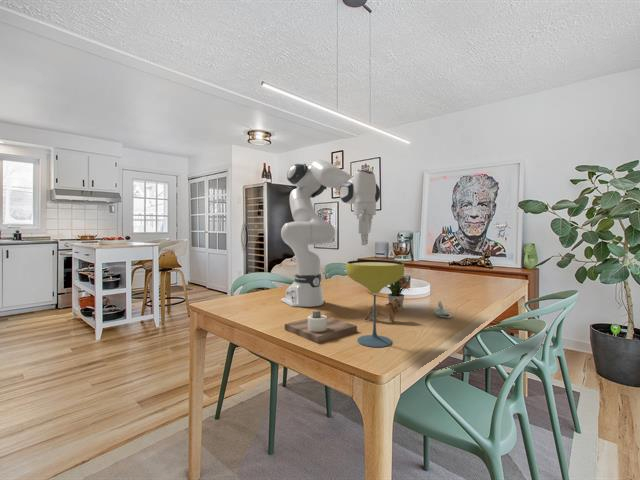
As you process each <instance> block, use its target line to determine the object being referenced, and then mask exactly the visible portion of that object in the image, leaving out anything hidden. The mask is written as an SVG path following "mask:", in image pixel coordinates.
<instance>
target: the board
mask: <svg viewBox="0 0 640 480" xmlns="http://www.w3.org/2000/svg"><path fill="white" fill-rule="evenodd" d="M321 313H322V311H321V310H312V315H313V318H316V319H317V318H319V317H321V315H322V314H321ZM284 330H285V331H288V332H290V333H292V334H294V335H297V336H299V337H302V338H304V339H307V340H308V341H311V342H314V343H315V344H319V343H322V342H325V341H328V340H329V341H330V340H333V339H337V338H339V337H343V336H346V335H349V334H353V333H356V332H358V325H356V324H352V323H349V322H347V321H344V320H340V319H336V318H333V317H330V316H327V330H325V331H321V332H314V331H309V330H308V318H305V319H301V320H297V321H291V322H287V323H284Z"/></svg>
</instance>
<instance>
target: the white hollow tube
mask: <svg viewBox="0 0 640 480" xmlns="http://www.w3.org/2000/svg"><path fill="white" fill-rule="evenodd" d="M327 317H328V315H324V314H321V317H319V318H317V319H316V318H313V314H311V315H308V316H307V319H308V330H309V331H314V332H321V331H325V330H327Z"/></svg>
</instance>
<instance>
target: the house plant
mask: <svg viewBox="0 0 640 480" xmlns="http://www.w3.org/2000/svg"><path fill="white" fill-rule="evenodd" d="M411 278H412V276H410V277H407V278H404V279H403V277H402V278H401V279H399V280H398V281H396V282H394V283H392V284H390V285H388V286H386V287H385V288H387V289H388V290H390V291H391V293H388V294H387V298H388V303H389V302H391V301H393V299H394V298H400V299H402V303H403V304H402V307H403V306H404V298H405V295H404V294H402V292H404V291H405V290H408V291H410V289H409V287H407V286H409V284H408V285H404V284H405V283H409V282H410V281H409V279H411ZM402 309H403V308H402ZM402 309H401V310H400V311H402Z"/></svg>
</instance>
